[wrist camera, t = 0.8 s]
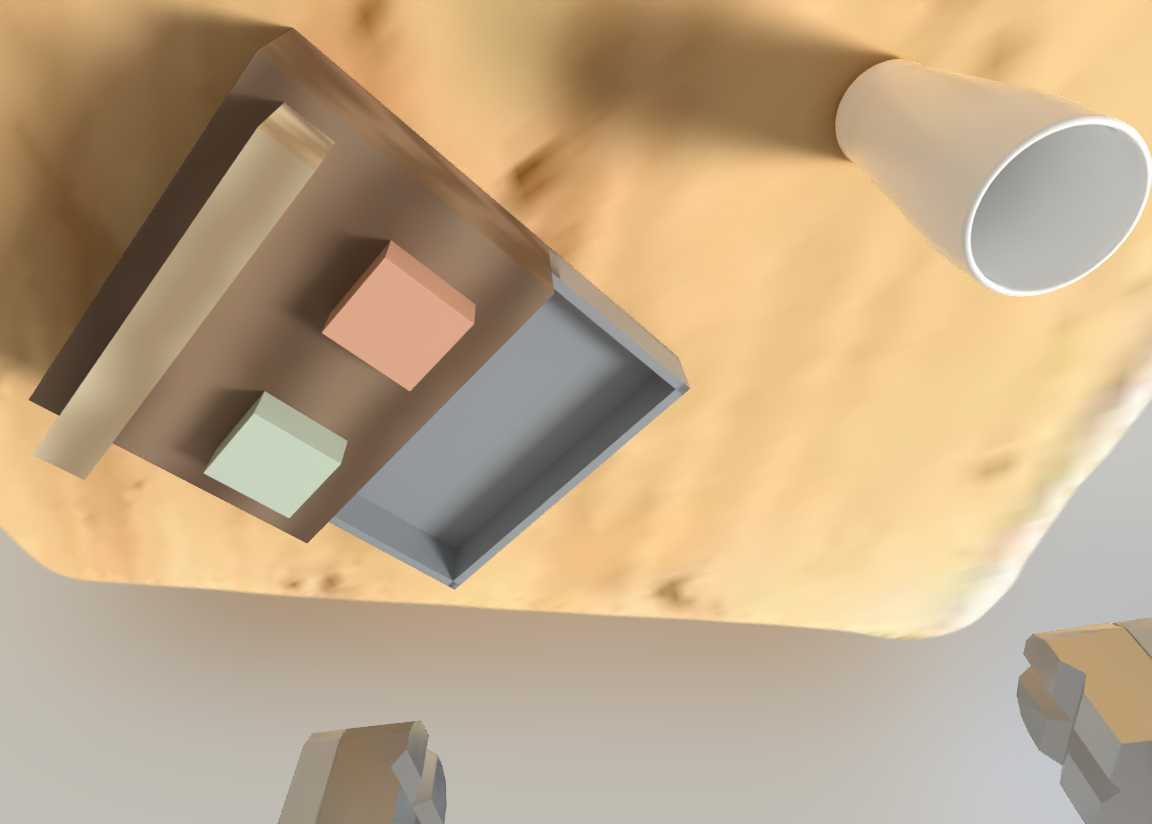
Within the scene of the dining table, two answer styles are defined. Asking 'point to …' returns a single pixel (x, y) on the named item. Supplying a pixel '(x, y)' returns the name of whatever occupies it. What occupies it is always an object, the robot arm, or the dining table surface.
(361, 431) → the walnut platform
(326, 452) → the sage tile
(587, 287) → the box
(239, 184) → the bar
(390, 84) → the dining table surface
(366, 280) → the terracotta tile
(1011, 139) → the drinking glass
